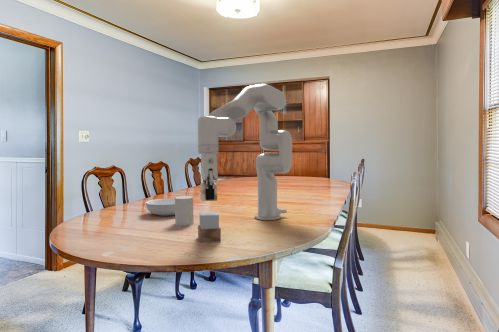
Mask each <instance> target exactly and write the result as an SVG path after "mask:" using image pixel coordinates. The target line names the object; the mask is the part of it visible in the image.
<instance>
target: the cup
mask: <svg viewBox="0 0 499 332" xmlns="http://www.w3.org/2000/svg"><path fill="white" fill-rule="evenodd" d="M174 199H175V214H174V217H175V220H174V221H175V225H176V226H180V227H181V226H182V227H183V226H184V227H185V226H191V225H194V221H195V220H194V196H191V195H181V196H176V197H175V196H174Z"/></svg>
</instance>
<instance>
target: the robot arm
mask: <svg viewBox="0 0 499 332" xmlns="http://www.w3.org/2000/svg"><path fill="white" fill-rule="evenodd" d="M286 104H287V98H286V96H285V93H284V92H282V91H281V90H279V89H278V88H276V87H274V86H272V85H269V84H268V83H267V84H266V83H261V84H254V85H249V86H246V87H244V88H243V89H242V90H241V91H240V92H239V93H238V94H237V95H236V96H235V97H234V98H233V99H232V100H231V101H229V102H227V103H225V104H224V105H221V106H219V107H217V108H216V109H214V110H212V111H211V112H210V113H209V114H208V115H205V116H204V115H203V116H199V117H198V120H197V153H198V155H200V163H201V164H200V170H201V171H200V174H201V179H202V180H203V182H202V183H206V189H205V192H206V200H214V183H215V181H217V182H218V179H219V175H218V170H219V169H218V157H217V155H218V154H219V138H226V137H227V138H228V137H231V136H233V135H234V134H235V133H236V132H237V124H236V121H238V120H240V119H243V118H245V117H247V115H248V114H249V113H250V112H251V111H252V110H254V111H255V114H256V115H257V116H258V120H259V147H260V148H261V149H262V150H264V151H279V152H264V153H260V154H258V155H257V156H256V158H255V161H254V162H255V169H256V175H257V213H256V214H254V218H255V219H256V220H259V221H275V220H279V219H281V214H287V212H288V209H287V208H286V209H284V208H283V209H282V208H279V207H278V181H277V180H278V179H277V177H276V176H275V174H287V173H289V172H290V170H291V168H292V161H293V160H292V155H293V138H292V135H291V132H289V131H288V130H284V129H279V128H278V118H277V116H276V115H275V113H274V111H281V110H282V109H284V108H285V107H286Z"/></svg>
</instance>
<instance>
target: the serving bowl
mask: <svg viewBox="0 0 499 332" xmlns="http://www.w3.org/2000/svg"><path fill="white" fill-rule="evenodd" d="M145 206H146V209H147V210H148V212H150V214H153V215H156V216H157V215H158V216H161V217H169V215H170V216H175V198H169V197H168V198H159V199H158V198H157V199H156V198H155V199H150V200H148V201H146V202H145Z"/></svg>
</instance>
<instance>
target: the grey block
mask: <svg viewBox="0 0 499 332" xmlns="http://www.w3.org/2000/svg"><path fill="white" fill-rule="evenodd" d="M199 225H200V227H201V229H217V228H219V227H220V215H219V213H218V211H200V212H199Z"/></svg>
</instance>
